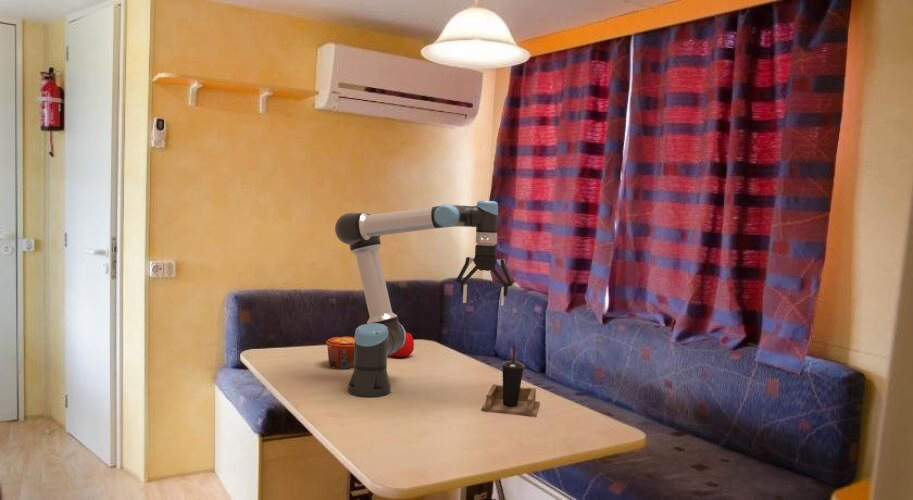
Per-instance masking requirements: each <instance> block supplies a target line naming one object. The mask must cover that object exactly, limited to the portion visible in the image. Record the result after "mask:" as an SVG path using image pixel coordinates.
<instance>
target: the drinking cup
mask: <svg viewBox="0 0 913 500" xmlns="http://www.w3.org/2000/svg"><path fill="white" fill-rule="evenodd" d="M512 349H513V350H512V359H511V360H506V361H504V362H502V363H501V366H502V385H503V405H505V406H510V407H514V406H517V404H518V398H519V392H520V387H522V386H521V384H522V381H523V380H522V379H523V372H524V369H525V364H523V363H521V362H520V361H517V360H516V359H515V358H516V346H515V345H513V347H512Z"/></svg>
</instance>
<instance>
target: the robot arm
mask: <svg viewBox="0 0 913 500" xmlns="http://www.w3.org/2000/svg"><path fill="white" fill-rule="evenodd" d="M498 221H499V204H498V202H497V201H493V200H478V201H477V204H476V205H459V204H450V203H447V204H446V203H444V204H442V205H437V206H430V207H429V206H428V207H421V208H413V209H406V210H399V211H398V210H397V211H391V212H382V213H376V214H371V213H368V212H348V213H347V212H346V213H344V214H342V215H340V217H339V218H338V219H337V220H336V223H335V227H334V232H335V235H336V238H337V239H338V240H339V241H340V242H341V243H343V244H345V245H348V246H349V250H350V252H351V254H354V256H355V257H356V258H355V259H356V262H357V267H358V271H359V276H360V280H361V284H362V288H363V293H364V298H365V303H366V306H367V310H368V315H369V316H368V317H369V318H368V320H367V322H366V323H365V324H361V325H359V326H358V327H357V328H355V333H354V336H353V338H354V369H352V373H351V376H350V380H349V381H348V385H347V392H348V393H349V394H350V393H351V394H350V395H353V396H356V395H357V396H356V397H363V398H365V397H366V398H371V397H373V398H375V397H376V398H377V397H382V396H386V395H389V394H391V392H392V384H391V381H390V377H389V374H388V368H387V367H388V366H387V365H388V356H391V355H390V354H393V353H395V352H397V351H398V350H399V349H400V348H401V347H402V346H403V345H404V343H405V339H406V333H405V332H406V329H405V328H404V326H403V325H402V324H401V323H400V322H399V318H398V315H397V314H396V313H394V312H393V310H392V306H391V301H390V297H389V292H388V287H387V284H386V279H385V274H384V270H383V266H382V262H381V257H380V253H379V249H380V248H381V246H382V243H381V236H387V235H394V234H402V233H410V232H419V231H427V230H435V229H443V228H451V227H455V228H457V227H466V228H475V243H476V245H475V247H474V258H473V257H470V256H467V257H466V258H465V263H464V264H463V266H462V268H461V270H460V272H459V274H458V275H457V278H456V279H455V282H456V283H458V284H460V294H462V295H463V296H462V304H466V303H467V296H468V284H467V281H468V280H470V278H471V277H472V276H473V275H475V273H476V272H478V270H479V271H481V272H482V271H486V272H489V271H491V272H492V273H493V274H494V276H496V278H497V279H498V281H499V282H500V283H501V285H502V286H501V289H500V290H501V291H500V293H501V295H500V306H501V307H503V306H504V305H505V297H507V296H508V288H509V287H511V286H513V285H514V282H513V280H512V277H511V275H510V273H509V271H508V268H507V266H506V260H505V258H502V259H501V258H500V259H497V242H498ZM472 262H473V264H475V266H474V267H473V268H472V269H471V270H470V271H469V273H468V274H467V275H465V274H466V271H467V270H468V268H469V266H470V264H472ZM496 264H498V265H499V266H500V268H501V270H502V272H503V274H504V276H505V279H506V280H505V279H504V277H503V276H502V275H501V273H500V272H499V271H498V269H497V268H496ZM464 275H465V277H464ZM463 277H464V278H463Z"/></svg>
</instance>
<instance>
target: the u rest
mask: <svg viewBox="0 0 913 500" xmlns="http://www.w3.org/2000/svg"><path fill="white" fill-rule="evenodd" d="M536 393H537V388H536V387H534V388H533V387H524V386H520V392H519V398H518V404H517V406H514V407H510V406H505V405H503V384H496V383H494V384H492V386H491V387H490V389H489V391H488V392H487V394H486V399H485V401H484V403H483V404H482V406H481V409H480V410H481V411H480V412H486V413H487V412H488V413H497V414H508V415H515V416H517V415H518V416H523V417H524V416H525V417H526V416H527V417H537V414H538V411H539V408H540V404H541V403H540V401H538V400H536V397H537V396H536V395H537V394H536Z"/></svg>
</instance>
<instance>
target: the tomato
mask: <svg viewBox="0 0 913 500" xmlns="http://www.w3.org/2000/svg"><path fill="white" fill-rule="evenodd" d="M405 333H406V339H405V343H404V345H403V346H402V347H401V348H400V349H399V350H398V351H397V352H395V353H393V354H390V355H389V356H392V357H395V358H406V357H409V356H410V355H411V354H413V351H414V349H415V348H414V347H415V343H414V342H415V341H414V337H413V336H412V334H411V333H409V332H407V331H405Z"/></svg>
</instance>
